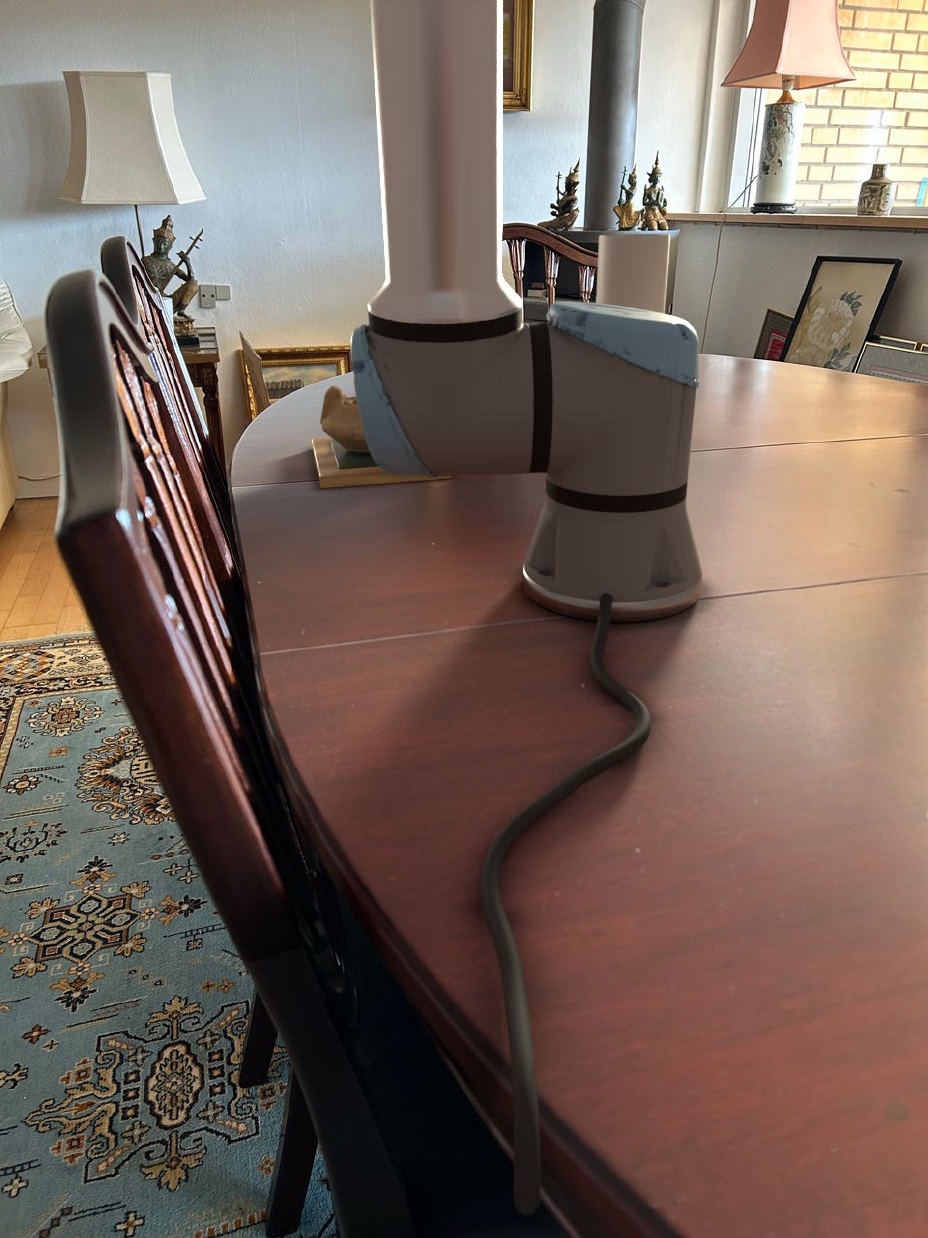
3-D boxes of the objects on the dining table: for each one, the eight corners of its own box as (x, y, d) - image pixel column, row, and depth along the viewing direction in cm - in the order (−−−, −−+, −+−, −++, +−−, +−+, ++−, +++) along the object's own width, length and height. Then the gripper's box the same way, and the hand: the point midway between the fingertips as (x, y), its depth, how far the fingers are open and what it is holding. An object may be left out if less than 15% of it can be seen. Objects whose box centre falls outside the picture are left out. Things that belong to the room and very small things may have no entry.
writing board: (451, 478, 110) (451, 465, 109) (320, 488, 107) (319, 474, 106) (425, 440, 128) (424, 429, 127) (312, 448, 125) (311, 436, 124)
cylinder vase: (582, 375, 173) (587, 235, 163) (640, 370, 177) (649, 233, 166) (611, 386, 162) (618, 237, 152) (672, 381, 166) (683, 234, 155)
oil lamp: (430, 460, 111) (428, 395, 108) (312, 460, 113) (306, 395, 109) (439, 438, 121) (437, 379, 118) (330, 439, 122) (325, 379, 119)
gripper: (442, 8, 86) (448, 246, 95) (503, 48, 108) (503, 238, 117) (370, 14, 88) (382, 247, 97) (444, 52, 110) (449, 239, 119)
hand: (448, 243), depth 107 cm, fingers open, 13 cm apart
